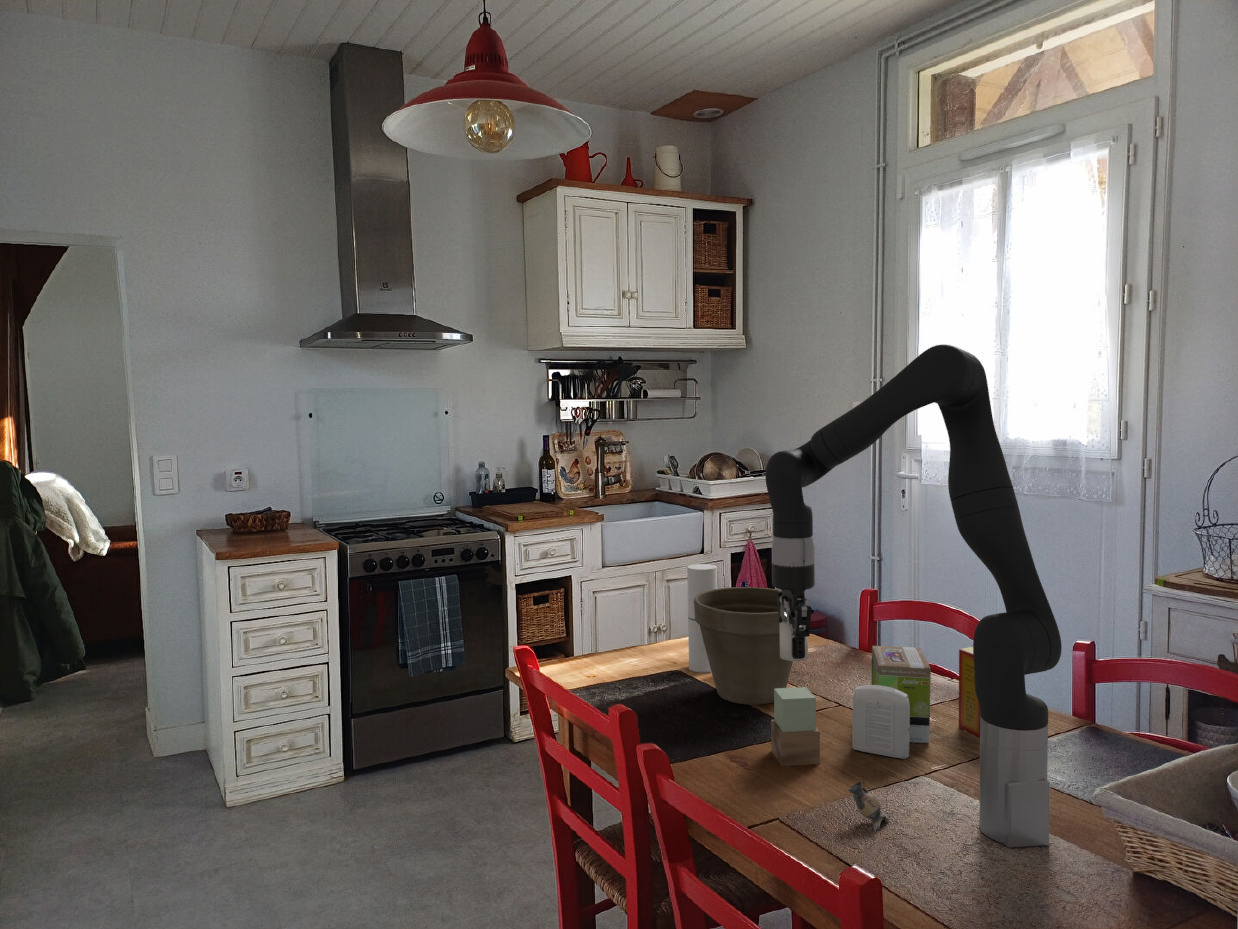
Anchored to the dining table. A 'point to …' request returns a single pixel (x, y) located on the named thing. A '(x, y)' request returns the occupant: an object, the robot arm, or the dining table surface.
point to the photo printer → (881, 721)
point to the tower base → (795, 746)
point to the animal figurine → (867, 805)
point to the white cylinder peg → (789, 643)
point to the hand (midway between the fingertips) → (793, 653)
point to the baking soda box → (968, 694)
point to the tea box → (906, 683)
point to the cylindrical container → (698, 582)
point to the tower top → (795, 709)
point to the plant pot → (743, 642)
